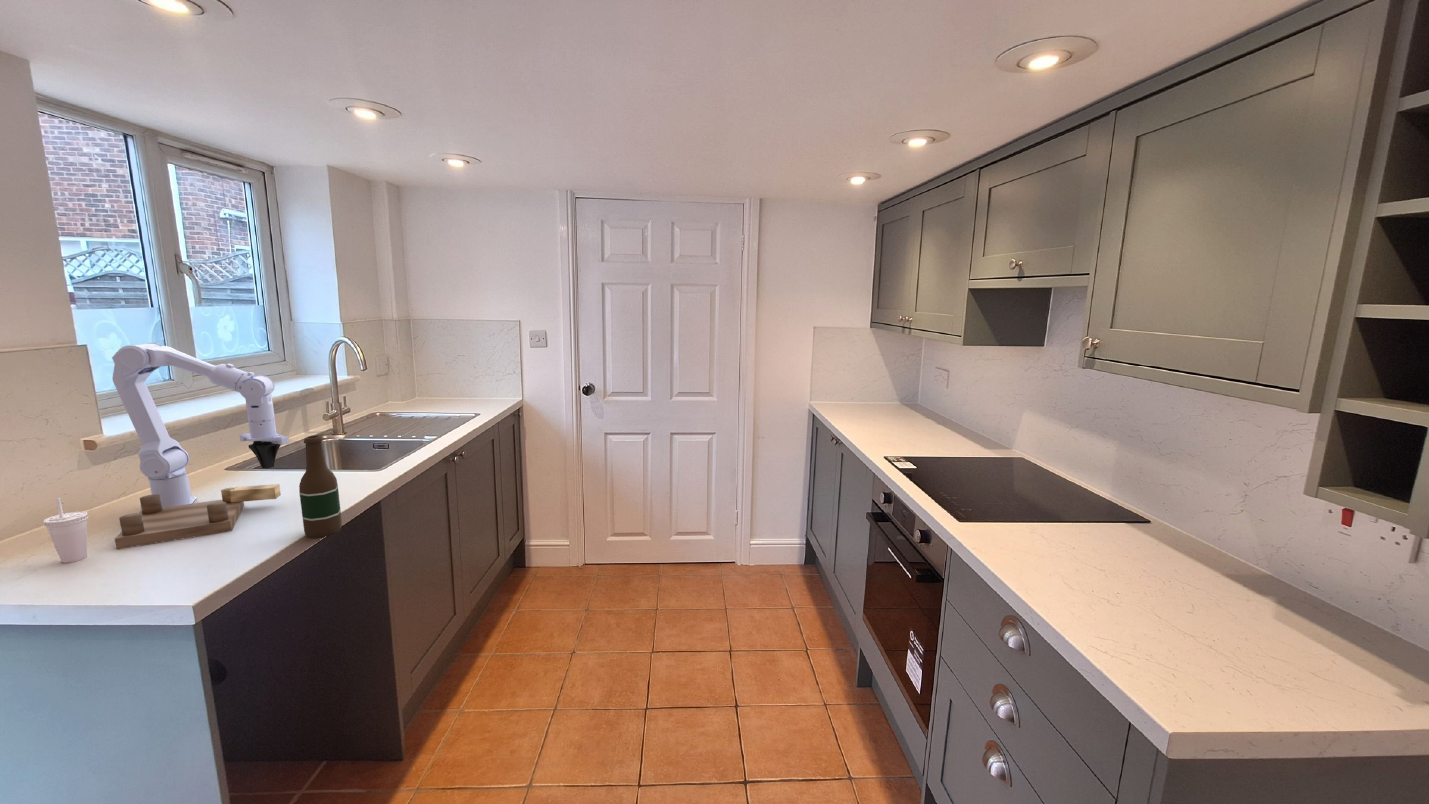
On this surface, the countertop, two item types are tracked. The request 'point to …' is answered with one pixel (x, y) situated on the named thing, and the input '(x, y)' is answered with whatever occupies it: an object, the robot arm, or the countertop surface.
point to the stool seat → (175, 521)
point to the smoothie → (68, 534)
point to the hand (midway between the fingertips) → (268, 467)
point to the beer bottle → (319, 493)
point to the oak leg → (251, 493)
